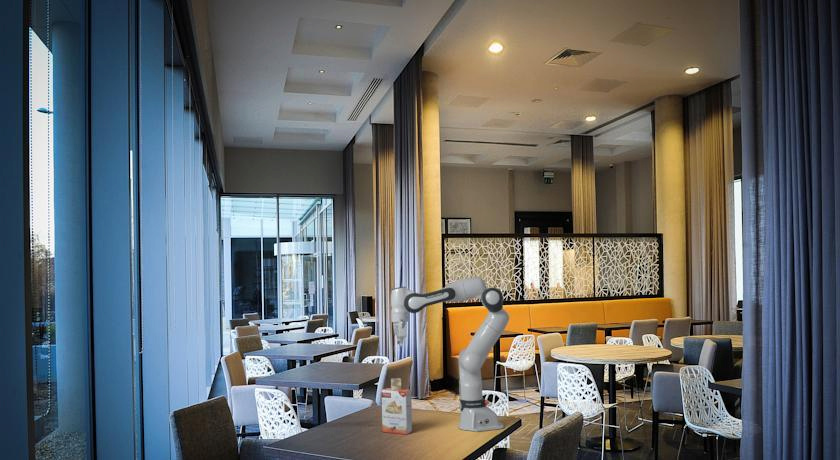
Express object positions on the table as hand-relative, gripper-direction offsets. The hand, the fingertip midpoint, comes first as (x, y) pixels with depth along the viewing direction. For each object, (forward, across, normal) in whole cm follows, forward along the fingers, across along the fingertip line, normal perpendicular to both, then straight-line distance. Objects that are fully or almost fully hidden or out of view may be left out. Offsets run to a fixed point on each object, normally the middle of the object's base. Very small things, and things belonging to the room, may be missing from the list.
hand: (400, 345), depth 324 cm
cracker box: (+41, -12, +4) cm, 43 cm away
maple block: (+20, -12, +4) cm, 24 cm away
